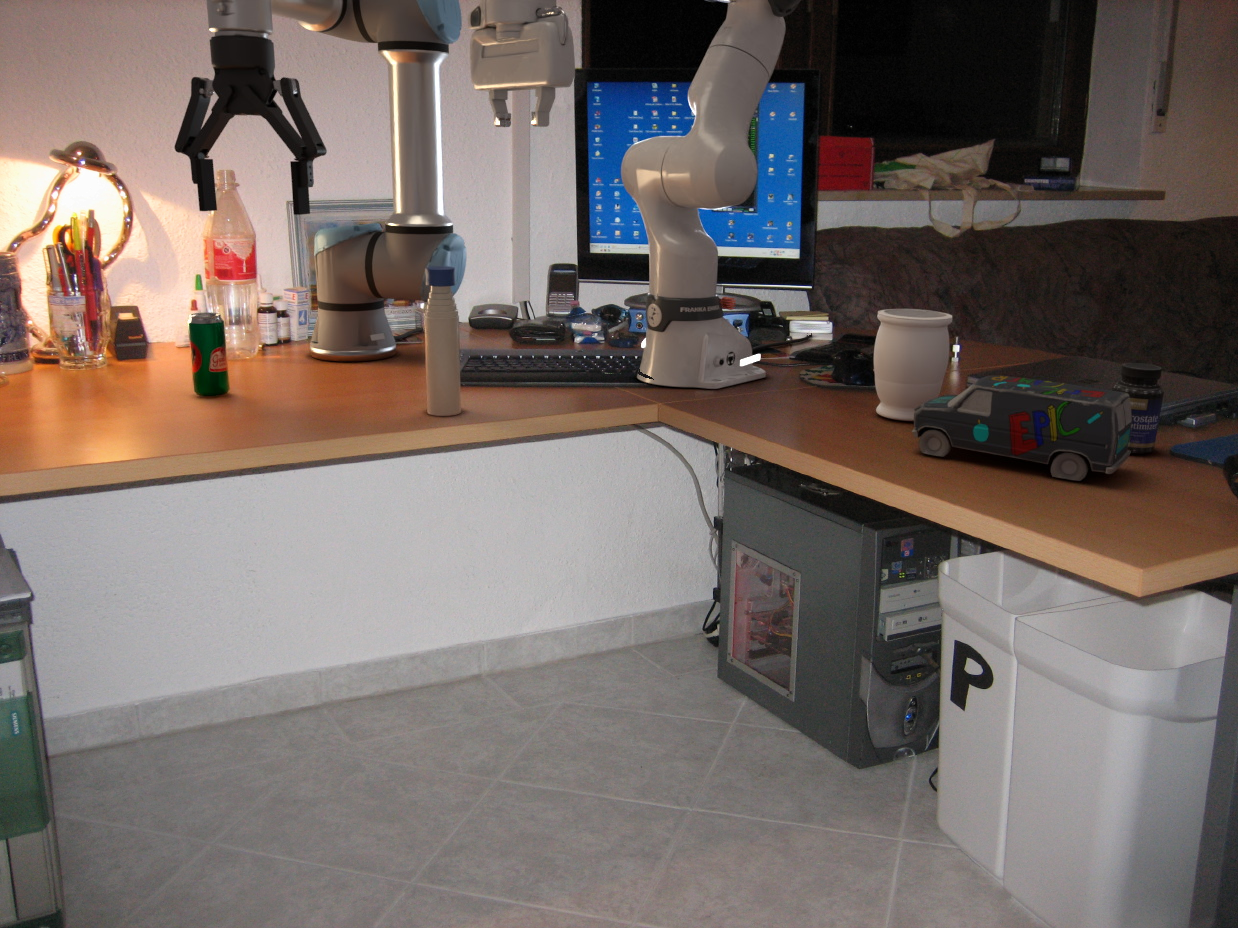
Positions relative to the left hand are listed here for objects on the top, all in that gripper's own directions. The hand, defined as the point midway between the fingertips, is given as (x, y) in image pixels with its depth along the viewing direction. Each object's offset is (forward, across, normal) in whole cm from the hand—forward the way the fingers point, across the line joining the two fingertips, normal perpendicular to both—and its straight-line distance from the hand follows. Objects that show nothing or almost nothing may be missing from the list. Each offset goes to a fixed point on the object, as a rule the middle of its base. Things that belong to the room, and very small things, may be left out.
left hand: (254, 213), depth 138 cm
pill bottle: (+28, +113, +23) cm, 118 cm away
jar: (+28, +84, +32) cm, 94 cm away
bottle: (+28, +20, +13) cm, 37 cm away
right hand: (-11, +32, +12) cm, 36 cm away
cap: (+8, +20, +13) cm, 25 cm away
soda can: (+28, -17, +12) cm, 35 cm away
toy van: (+28, +98, +12) cm, 102 cm away
